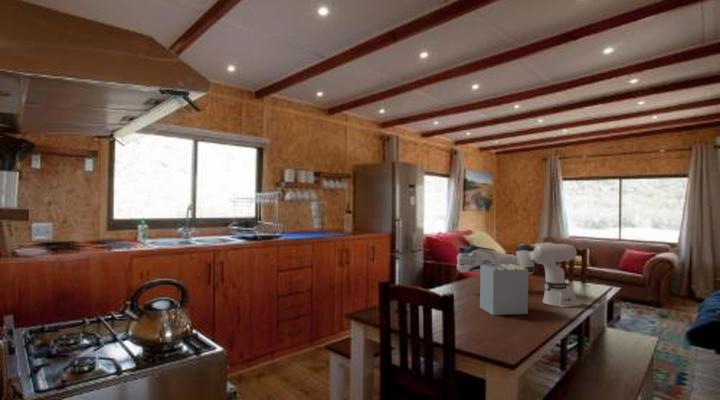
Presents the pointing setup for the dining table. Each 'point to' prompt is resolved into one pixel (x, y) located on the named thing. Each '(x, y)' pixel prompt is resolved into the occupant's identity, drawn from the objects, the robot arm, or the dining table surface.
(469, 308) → the dining table surface
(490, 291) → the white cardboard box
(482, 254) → the gauge bar
